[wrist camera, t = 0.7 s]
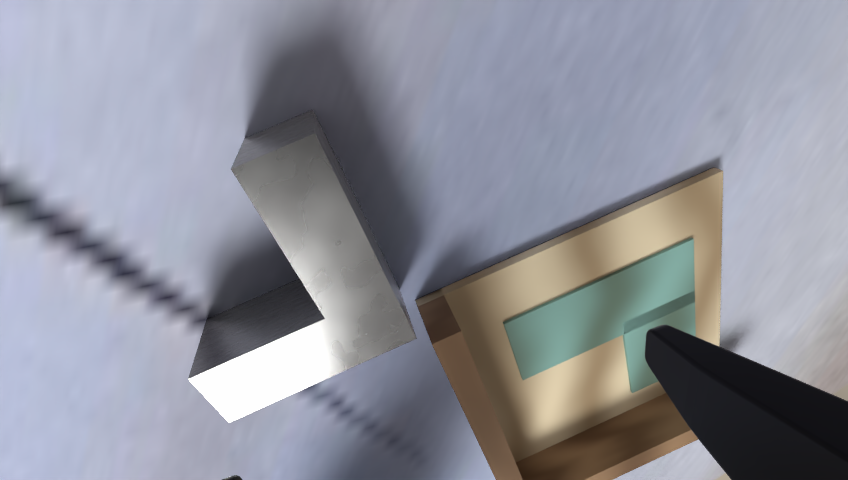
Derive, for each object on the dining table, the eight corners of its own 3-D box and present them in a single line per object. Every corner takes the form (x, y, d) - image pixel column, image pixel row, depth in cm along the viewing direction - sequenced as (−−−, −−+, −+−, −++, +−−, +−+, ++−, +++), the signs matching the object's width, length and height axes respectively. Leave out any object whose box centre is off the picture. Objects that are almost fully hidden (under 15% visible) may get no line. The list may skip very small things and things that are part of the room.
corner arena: (497, 475, 33) (517, 524, 30) (415, 300, 24) (431, 344, 21) (712, 375, 33) (753, 413, 30) (714, 167, 24) (773, 190, 21)
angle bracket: (399, 289, 23) (416, 338, 20) (240, 359, 23) (229, 422, 19) (312, 109, 18) (315, 133, 15) (105, 196, 18) (58, 242, 14)
